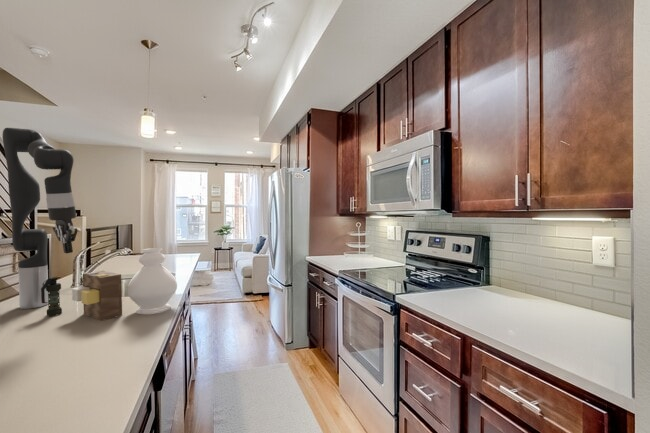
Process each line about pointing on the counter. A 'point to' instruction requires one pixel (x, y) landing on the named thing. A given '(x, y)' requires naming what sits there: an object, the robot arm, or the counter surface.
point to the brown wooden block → (104, 294)
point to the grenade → (52, 296)
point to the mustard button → (90, 296)
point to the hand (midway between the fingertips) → (68, 252)
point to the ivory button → (78, 293)
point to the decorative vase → (152, 283)
